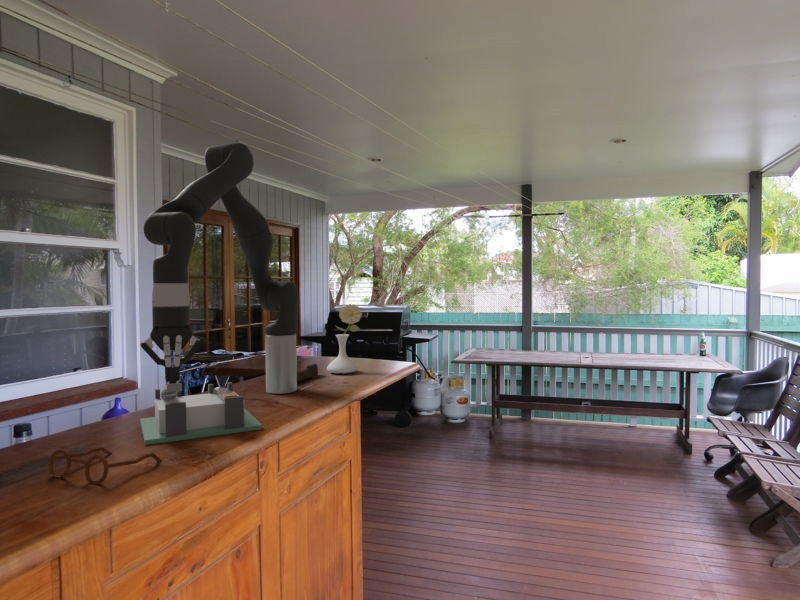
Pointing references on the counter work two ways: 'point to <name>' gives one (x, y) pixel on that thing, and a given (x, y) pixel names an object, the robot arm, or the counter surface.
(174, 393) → the strap
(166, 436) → the base
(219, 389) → the strap
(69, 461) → the glasses
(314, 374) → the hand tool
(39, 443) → the counter surface
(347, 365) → the flower in vase
